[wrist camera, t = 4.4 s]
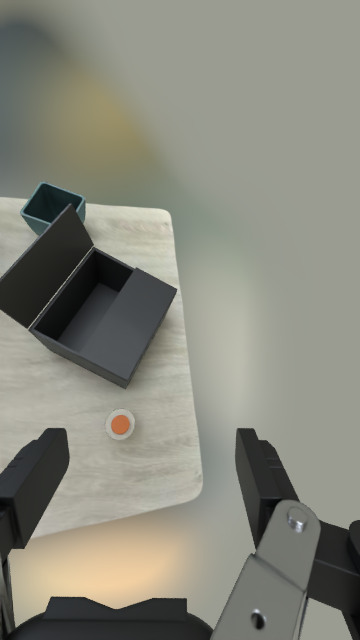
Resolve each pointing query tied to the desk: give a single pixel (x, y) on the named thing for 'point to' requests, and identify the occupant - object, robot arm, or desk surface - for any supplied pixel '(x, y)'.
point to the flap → (44, 267)
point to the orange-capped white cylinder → (120, 424)
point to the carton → (105, 316)
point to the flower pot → (50, 206)
